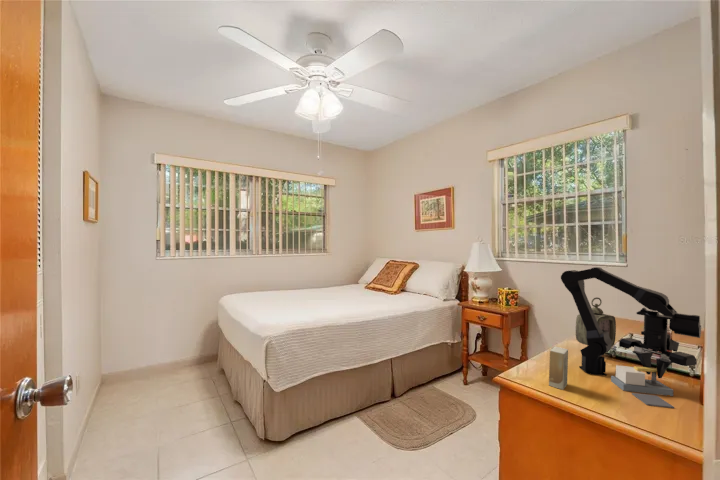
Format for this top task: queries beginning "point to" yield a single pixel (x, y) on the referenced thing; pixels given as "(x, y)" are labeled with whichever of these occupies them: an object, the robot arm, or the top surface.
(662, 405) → the mat
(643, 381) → the cover
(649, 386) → the latch base
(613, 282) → the robot arm
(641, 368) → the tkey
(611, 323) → the tabletop clock
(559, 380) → the skincare box
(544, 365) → the top surface
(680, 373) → the top surface
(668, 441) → the top surface
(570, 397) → the top surface
